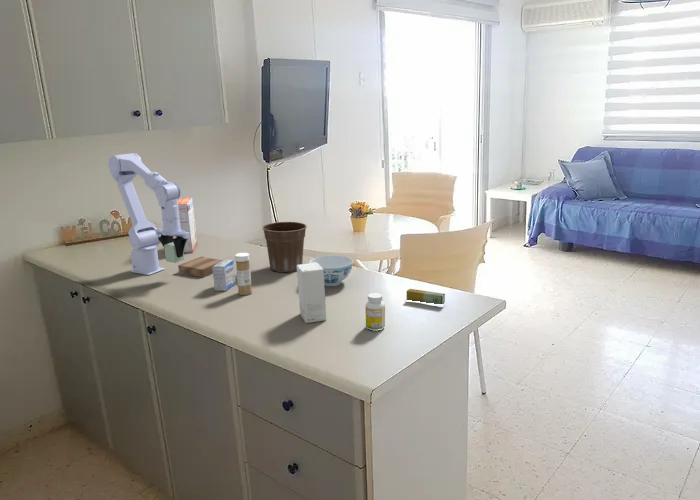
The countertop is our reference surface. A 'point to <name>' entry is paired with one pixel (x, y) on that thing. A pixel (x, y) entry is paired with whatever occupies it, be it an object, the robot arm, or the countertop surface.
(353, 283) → the countertop surface
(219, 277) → the medicine box
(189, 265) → the walnut block
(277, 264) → the plant pot
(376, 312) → the supplement bottle
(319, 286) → the skincare box
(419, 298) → the medication box
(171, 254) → the sage block
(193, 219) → the cracker box
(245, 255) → the sprinkles bottle
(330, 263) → the chinaware
